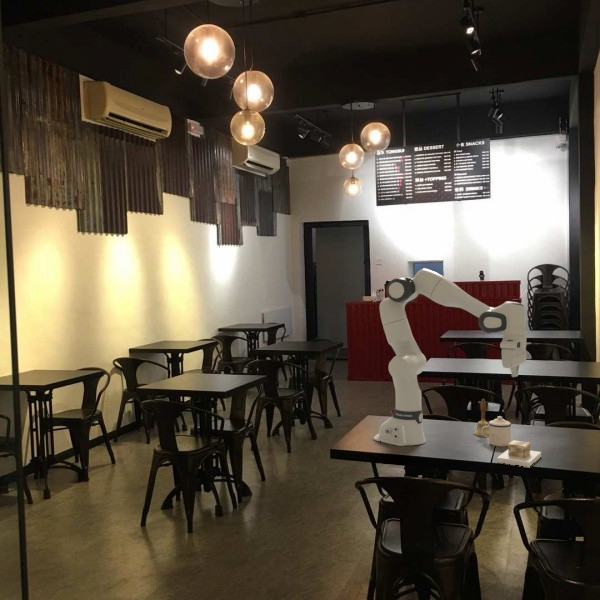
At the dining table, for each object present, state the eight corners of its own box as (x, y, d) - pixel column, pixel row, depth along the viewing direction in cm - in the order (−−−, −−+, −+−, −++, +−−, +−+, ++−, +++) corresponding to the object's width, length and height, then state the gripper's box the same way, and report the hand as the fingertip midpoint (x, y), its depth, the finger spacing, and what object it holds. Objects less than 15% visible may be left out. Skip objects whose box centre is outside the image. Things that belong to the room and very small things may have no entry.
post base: (497, 462, 239) (497, 449, 239) (510, 452, 252) (510, 440, 252) (529, 467, 232) (529, 454, 232) (541, 457, 245) (541, 444, 245)
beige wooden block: (508, 455, 242) (508, 443, 241) (513, 451, 247) (513, 440, 247) (525, 458, 238) (525, 446, 238) (530, 453, 243) (530, 442, 243)
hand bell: (492, 432, 284) (491, 397, 284) (493, 437, 276) (492, 401, 276) (473, 431, 286) (472, 397, 286) (473, 436, 278) (473, 400, 278)
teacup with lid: (511, 441, 268) (511, 414, 267) (510, 447, 259) (510, 419, 259) (482, 439, 272) (482, 413, 272) (480, 445, 264) (480, 417, 263)
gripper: (514, 339, 259) (514, 372, 260) (498, 344, 243) (498, 379, 243) (530, 339, 256) (530, 373, 256) (515, 345, 239) (515, 380, 240)
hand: (514, 376), depth 250 cm, fingers closed
